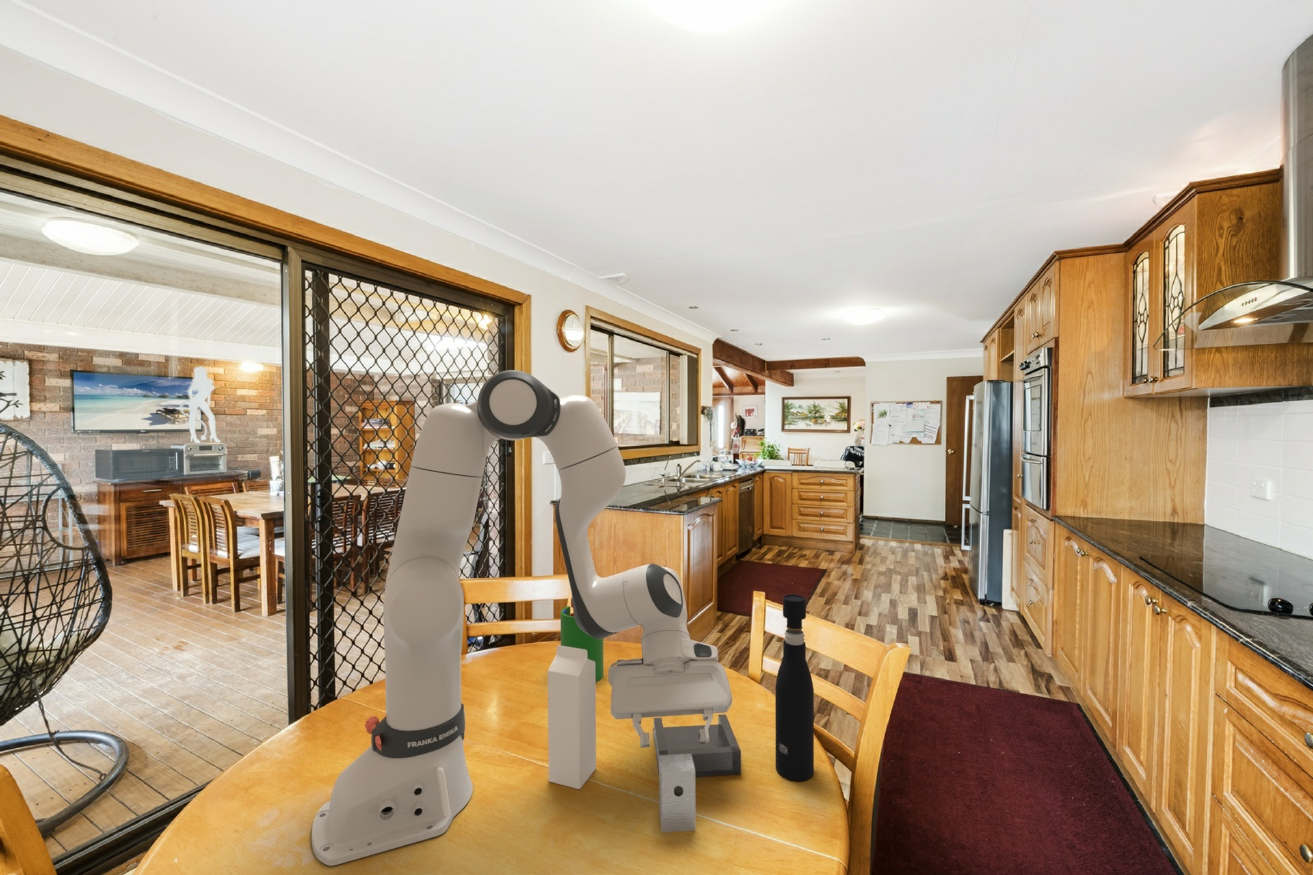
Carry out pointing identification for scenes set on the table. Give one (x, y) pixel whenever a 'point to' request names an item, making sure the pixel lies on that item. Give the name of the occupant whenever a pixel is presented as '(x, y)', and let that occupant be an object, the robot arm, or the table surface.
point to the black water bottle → (794, 699)
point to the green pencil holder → (581, 640)
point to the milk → (571, 717)
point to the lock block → (677, 793)
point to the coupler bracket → (701, 747)
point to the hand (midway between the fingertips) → (674, 744)
